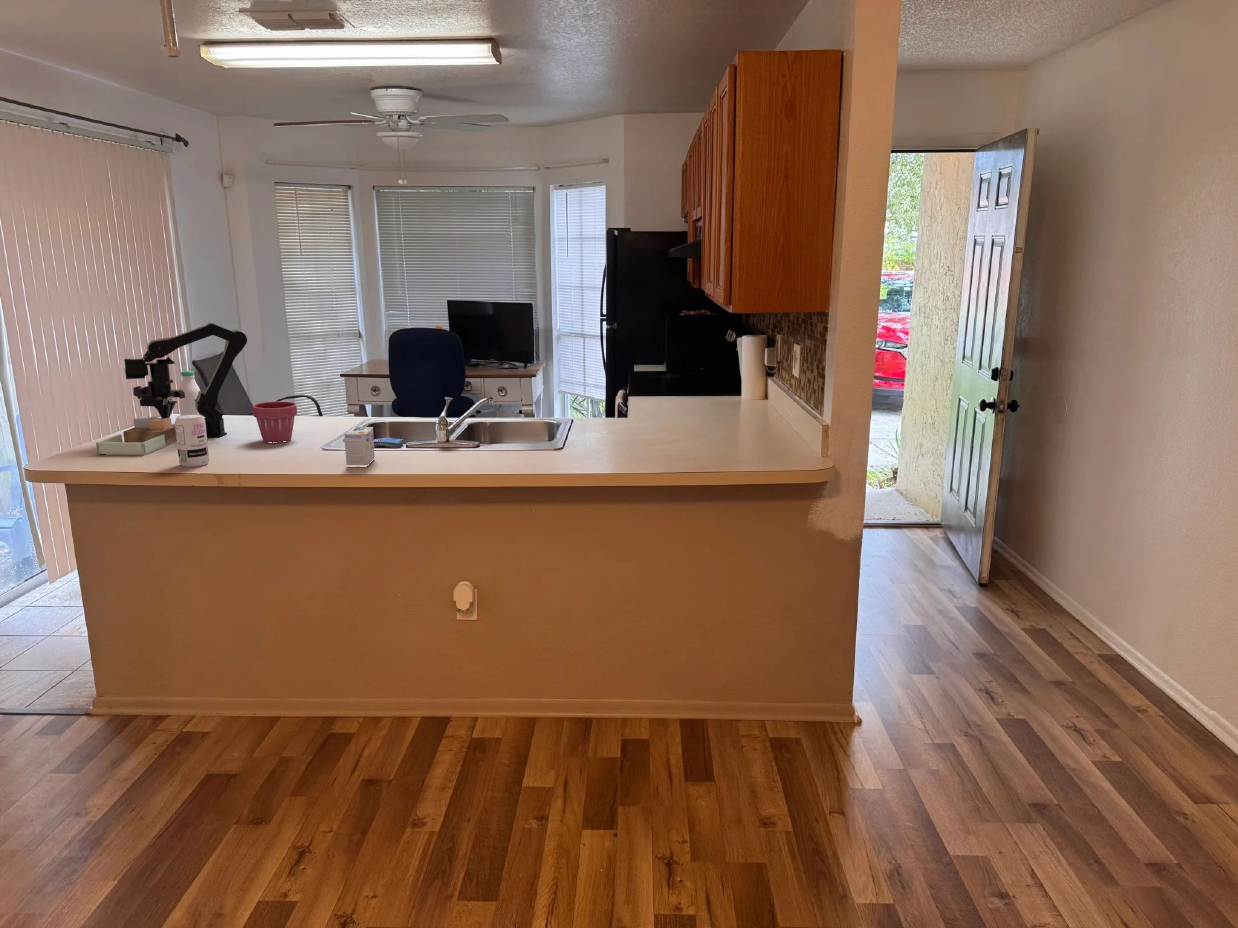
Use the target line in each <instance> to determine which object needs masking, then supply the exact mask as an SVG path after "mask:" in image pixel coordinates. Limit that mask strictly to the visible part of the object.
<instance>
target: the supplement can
mask: <svg viewBox="0 0 1238 928" xmlns="http://www.w3.org/2000/svg"><path fill="white" fill-rule="evenodd" d="M204 418H205V417H204ZM204 418H203V417H202V415H198V414H189V415H181V414H180V415H177V416H176V418H175V420H174V425H175V430H176V439H177V441H176V446H177V454H178V455H177V457H178V464H179V465H181V466H182V467H183V468H197V467H198V468H199V467H203V466H205V465H206V466H207V465H208V463H210V457H209V456H210V455H209V447H208V437H207V435H206V426H205V420H204Z"/></svg>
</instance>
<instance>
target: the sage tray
mask: <svg viewBox="0 0 1238 928" xmlns="http://www.w3.org/2000/svg"><path fill="white" fill-rule="evenodd" d="M122 436H123V435H122V434H117V435H113V436H111V437H107V438H105V439H102V440H99V441H98V442H97V441H96V442H95V445H96V455H97V454H106V455H105V456H145V457H146V456H147V455H149V454H152V453H155V452H156V451H159V450H162V449H164V448H166V447H167V446H166V444H165V436H164V435H160V436H158V437H155V438H153V439H150V440H148V441H145V442H143V443H125V442H123V437H122Z"/></svg>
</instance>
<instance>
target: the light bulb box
mask: <svg viewBox="0 0 1238 928" xmlns="http://www.w3.org/2000/svg"><path fill="white" fill-rule="evenodd" d="M374 441H375V440H374V426H358V427H357V426H353V427H351V428H350V429H349V430H347V432H346V433H344V449H345V466H346V465H368V464H370V462H371V461H372V460H373V459H374V457H375V442H374ZM370 465H371V464H370Z"/></svg>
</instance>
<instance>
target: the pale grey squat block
mask: <svg viewBox="0 0 1238 928" xmlns="http://www.w3.org/2000/svg"><path fill="white" fill-rule="evenodd" d="M154 418H157V417H156V416H139V417H136V418H133V428H149V420H152V419H154Z"/></svg>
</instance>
